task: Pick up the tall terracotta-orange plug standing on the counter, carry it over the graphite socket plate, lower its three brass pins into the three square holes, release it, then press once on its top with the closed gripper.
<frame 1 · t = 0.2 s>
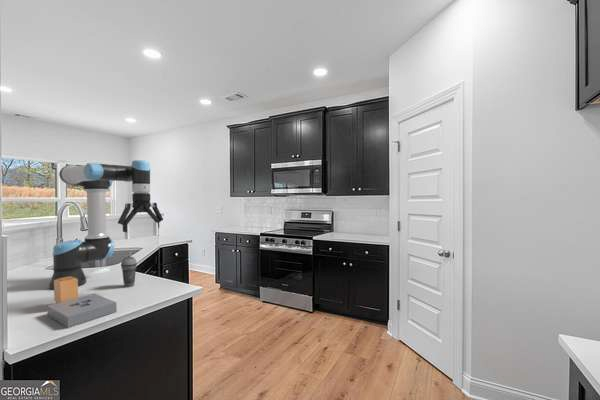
hand: (142, 237, 133), 28 cm above the counter, fingers open, 13 cm apart
beverage cup: (129, 286, 146), on the counter
plug: (66, 305, 120), on the counter
socket: (82, 313, 111), on the counter
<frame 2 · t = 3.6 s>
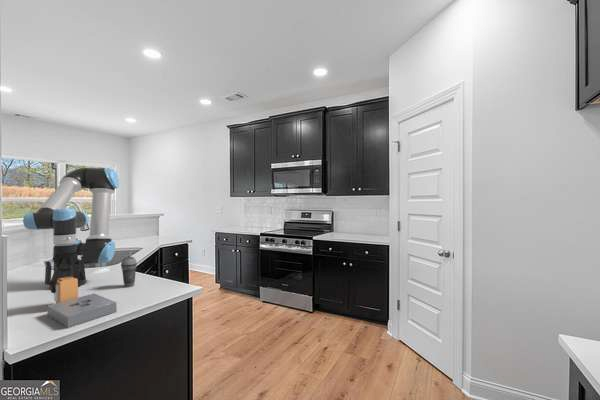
hand: (66, 297, 120), 4 cm above the counter, fingers closed on plug, 6 cm apart
plug: (66, 305, 120), on the counter, touching gripper
everything else where it was.
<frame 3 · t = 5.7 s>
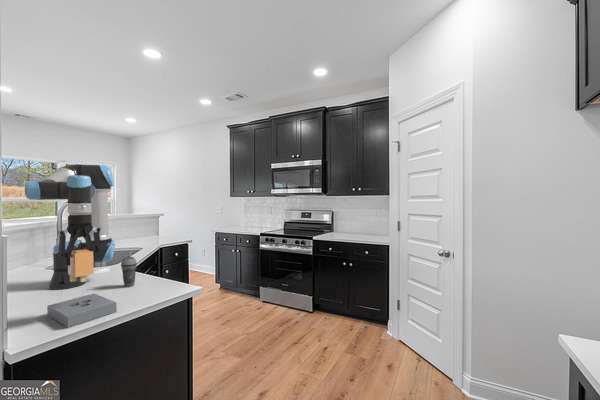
hand: (80, 271, 111), 17 cm above the counter, fingers closed on plug, 6 cm apart
plug: (81, 280, 111), point 14 cm above the counter, touching gripper
everything else where it was.
when the fingers open (6 cm above the counter, at t = 7.6 s): plug stays where it is, resting on socket.
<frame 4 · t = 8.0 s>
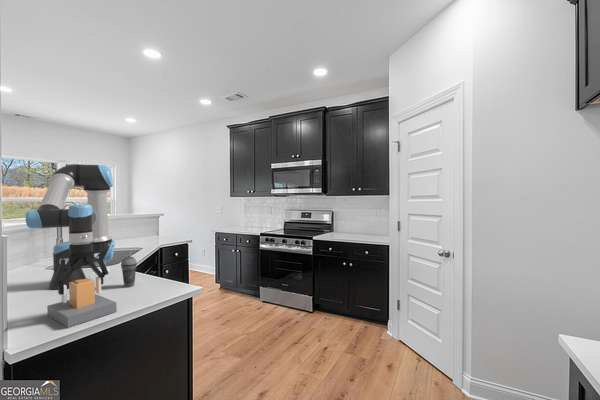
hand: (82, 297, 111), 7 cm above the counter, fingers open, 11 cm apart
plug: (82, 310, 111), point 1 cm above the counter, touching socket
everything else where it was.
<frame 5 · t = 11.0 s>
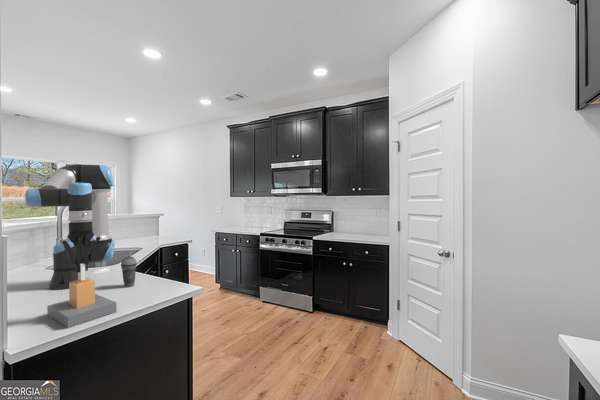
hand: (81, 279, 111), 14 cm above the counter, fingers closed
plug: (82, 310, 111), point 2 cm above the counter, touching gripper, socket
everything else where it was.
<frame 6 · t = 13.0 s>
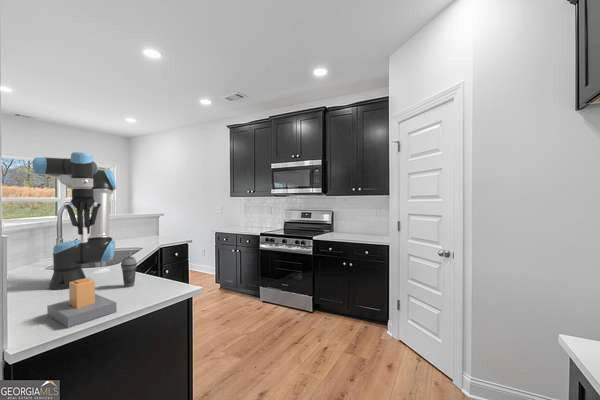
hand: (84, 241, 122), 27 cm above the counter, fingers closed
plug: (82, 310, 111), point 1 cm above the counter, touching socket
everything else where it was.
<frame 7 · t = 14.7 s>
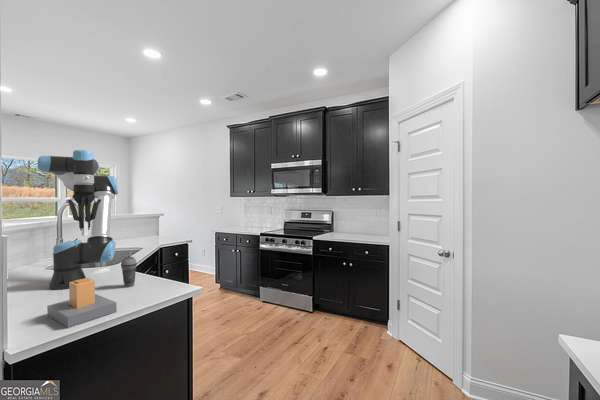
hand: (84, 235, 127), 29 cm above the counter, fingers closed
nothing on the counter moved.
at the end: plug 0.0 cm off-centre on the socket, point 1.5 cm above the socket's base; plug tilted 0°; the gripper is holding nothing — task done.
